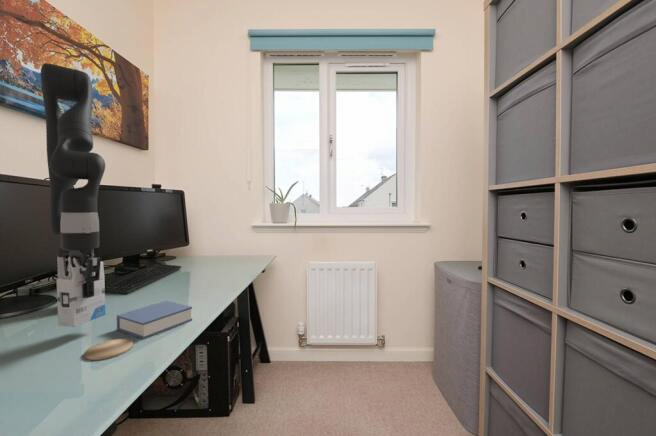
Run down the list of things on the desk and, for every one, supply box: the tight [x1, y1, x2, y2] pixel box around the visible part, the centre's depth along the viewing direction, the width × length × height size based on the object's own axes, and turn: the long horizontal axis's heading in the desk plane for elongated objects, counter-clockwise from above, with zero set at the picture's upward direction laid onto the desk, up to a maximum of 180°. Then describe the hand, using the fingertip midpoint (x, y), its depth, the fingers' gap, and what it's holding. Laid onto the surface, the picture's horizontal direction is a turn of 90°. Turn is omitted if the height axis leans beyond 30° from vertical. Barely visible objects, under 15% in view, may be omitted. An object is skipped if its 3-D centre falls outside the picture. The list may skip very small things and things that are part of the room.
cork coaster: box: [83, 338, 134, 361], centre depth 67 cm, size 9×9×1 cm
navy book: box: [116, 300, 193, 340], centre depth 82 cm, size 12×14×4 cm
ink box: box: [56, 261, 106, 328], centre depth 75 cm, size 9×5×15 cm, turn 168°
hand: (82, 294), depth 75 cm, fingers closed on ink box, 5 cm apart
